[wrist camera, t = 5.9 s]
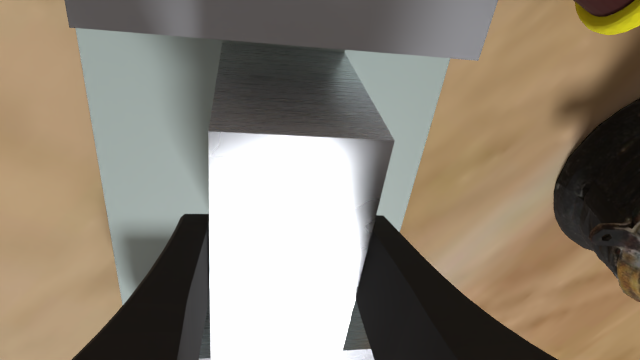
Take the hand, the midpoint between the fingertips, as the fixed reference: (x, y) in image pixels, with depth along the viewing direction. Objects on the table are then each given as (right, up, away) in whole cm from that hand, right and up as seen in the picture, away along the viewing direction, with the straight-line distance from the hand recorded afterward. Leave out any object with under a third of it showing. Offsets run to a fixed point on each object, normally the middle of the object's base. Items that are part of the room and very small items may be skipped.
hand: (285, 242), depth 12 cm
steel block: (-1, +3, +4) cm, 5 cm away
